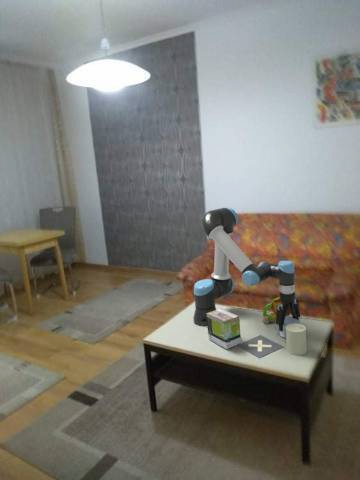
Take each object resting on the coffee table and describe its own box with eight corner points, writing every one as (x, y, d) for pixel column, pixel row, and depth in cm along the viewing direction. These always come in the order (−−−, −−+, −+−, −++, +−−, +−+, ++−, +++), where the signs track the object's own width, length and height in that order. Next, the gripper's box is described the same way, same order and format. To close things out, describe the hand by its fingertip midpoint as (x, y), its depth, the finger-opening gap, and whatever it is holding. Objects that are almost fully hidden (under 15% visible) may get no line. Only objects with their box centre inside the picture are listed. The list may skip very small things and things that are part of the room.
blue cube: (277, 334, 186) (276, 320, 185) (288, 329, 190) (287, 315, 189) (289, 340, 180) (288, 325, 178) (300, 335, 184) (299, 320, 182)
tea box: (242, 343, 180) (240, 315, 177) (226, 350, 175) (224, 321, 172) (223, 333, 193) (220, 307, 190) (207, 339, 188) (205, 312, 185)
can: (308, 355, 164) (307, 331, 162) (287, 355, 166) (286, 331, 164) (305, 345, 173) (304, 322, 171) (285, 345, 175) (284, 322, 173)
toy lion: (262, 323, 200) (261, 297, 197) (264, 319, 205) (263, 294, 202) (291, 327, 193) (291, 300, 190) (293, 322, 198) (292, 296, 195)
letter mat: (236, 345, 179) (236, 344, 179) (260, 335, 187) (260, 334, 187) (259, 358, 166) (259, 357, 166) (283, 346, 174) (283, 346, 173)
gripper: (278, 299, 172) (279, 343, 176) (307, 288, 182) (308, 330, 187) (266, 295, 178) (268, 337, 183) (295, 285, 189) (296, 325, 193)
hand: (288, 333), depth 185 cm, fingers closed on blue cube, 8 cm apart
